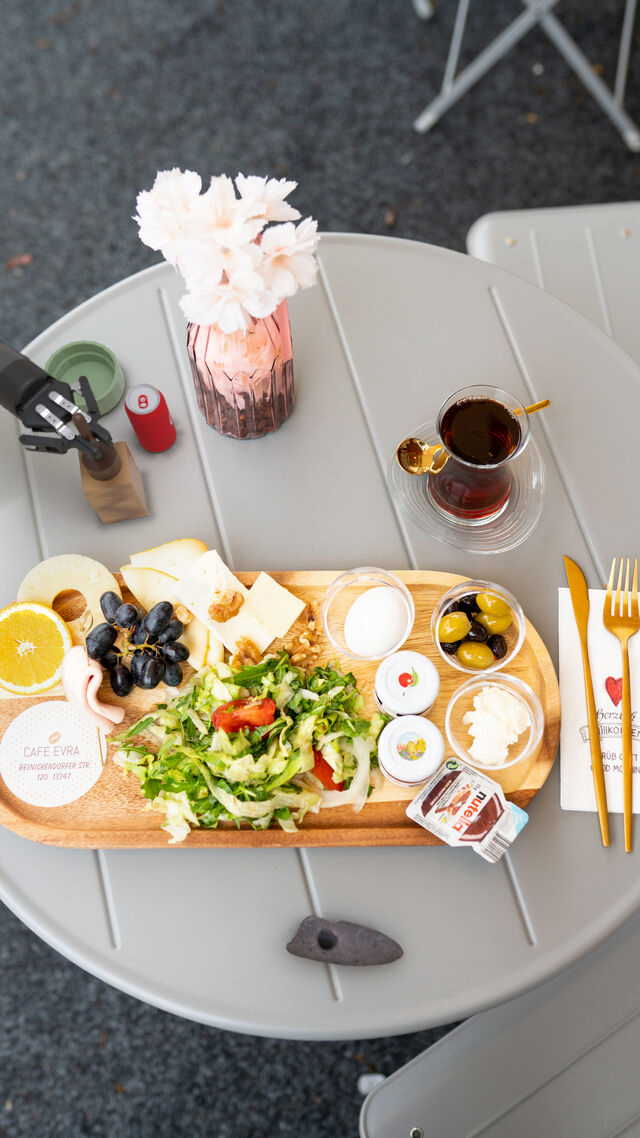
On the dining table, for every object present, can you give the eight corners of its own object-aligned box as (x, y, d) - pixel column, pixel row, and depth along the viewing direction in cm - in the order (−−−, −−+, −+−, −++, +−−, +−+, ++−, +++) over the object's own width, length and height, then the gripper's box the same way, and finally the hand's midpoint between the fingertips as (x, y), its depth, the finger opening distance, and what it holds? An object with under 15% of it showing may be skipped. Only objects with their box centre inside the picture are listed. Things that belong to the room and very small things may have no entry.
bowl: (56, 427, 135) (47, 411, 130) (49, 365, 139) (39, 347, 134) (130, 413, 136) (123, 397, 131) (121, 352, 140) (113, 334, 135)
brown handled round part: (89, 484, 118) (59, 435, 105) (85, 453, 120) (55, 402, 107) (123, 477, 119) (98, 428, 105) (119, 447, 120) (93, 395, 107)
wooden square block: (104, 524, 129) (82, 491, 118) (98, 484, 132) (77, 449, 120) (148, 515, 130) (131, 482, 118) (142, 476, 132) (125, 440, 121)
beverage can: (175, 418, 136) (161, 377, 124) (179, 451, 133) (165, 412, 122) (137, 424, 135) (120, 383, 124) (140, 457, 133) (123, 419, 122)
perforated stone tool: (404, 931, 109) (409, 935, 102) (398, 974, 107) (403, 981, 101) (293, 909, 110) (291, 911, 103) (286, 951, 108) (283, 957, 102)
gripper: (56, 363, 120) (144, 427, 116) (-12, 428, 116) (77, 497, 112) (39, 332, 113) (133, 399, 109) (-34, 400, 109) (60, 473, 105)
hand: (104, 449), depth 111 cm, fingers closed on brown handled round part
